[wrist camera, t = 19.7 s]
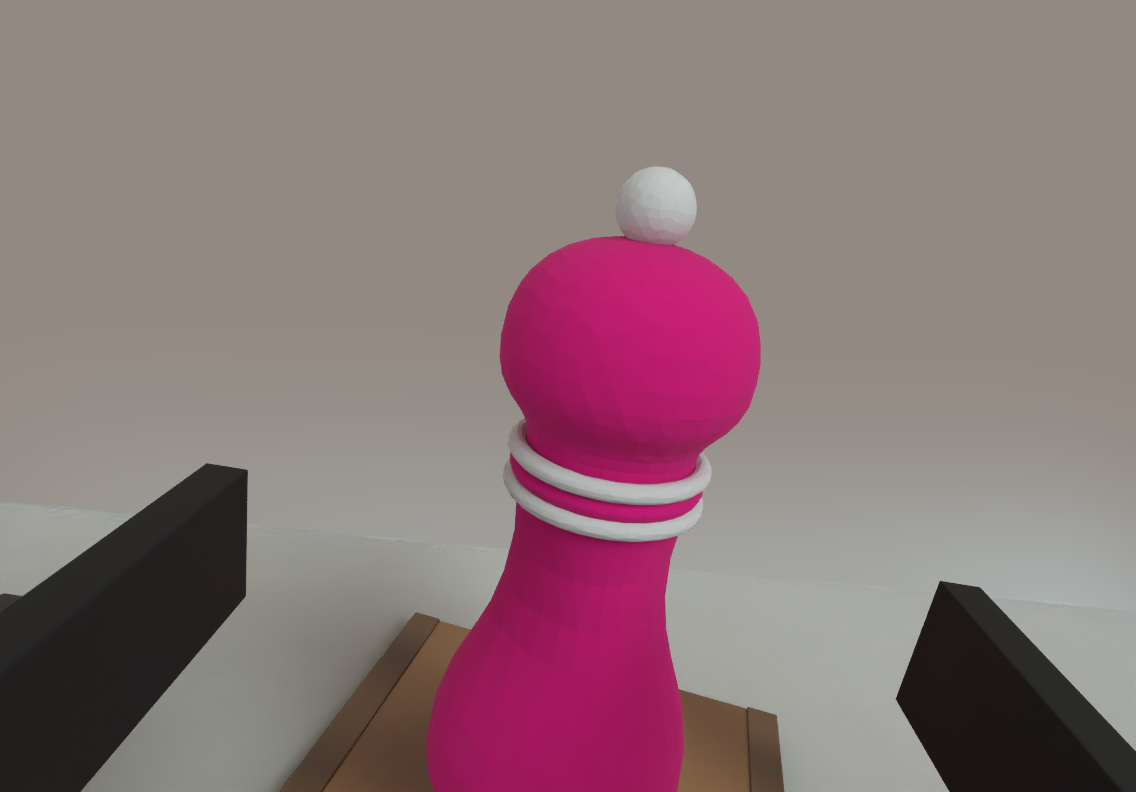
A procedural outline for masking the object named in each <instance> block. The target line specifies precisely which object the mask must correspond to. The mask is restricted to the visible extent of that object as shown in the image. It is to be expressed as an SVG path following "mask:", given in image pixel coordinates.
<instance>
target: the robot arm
mask: <svg viewBox="0 0 1136 792" xmlns="http://www.w3.org/2000/svg"><path fill="white" fill-rule="evenodd" d="M247 478H248V471H247V470H244V469H239V468H232V467H226V466H220V465H213V464H205V465H204V466H203V467H201V468H200V469H198V470H197V471H196V472H194V473H193V474H191V475H190V476H189V477H187V478H186V479H184V480H183V481H182V482H181V483H179V484H178V485H176V486H175V487H173V488H172V489H171V490H169V491H168V492H166V493H165V494H164V495H162V496H161V497H160V498H158V499H157V500H155V501H154V502H153V503H151V504H150V505H148V506H147V507H146V508H144V509H143V510H142V511H140V512H139V513H137V514H136V515H135V516H133V517H132V518H130V519H129V520H128V521H126V522H125V523H124V524H122V525H121V526H119V527H118V528H117V529H115V530H114V531H112V532H111V533H110V534H108V535H107V536H106V537H104V538H103V539H101V540H100V541H99V542H97V543H96V544H94V545H93V546H92V547H90V548H89V549H88V550H86V551H85V552H83V553H82V554H81V555H79V556H78V557H76V558H75V559H74V560H72V561H71V562H70V563H68V564H67V565H65V566H64V567H63V568H61V569H60V570H58V571H57V572H56V573H54V574H53V575H52V576H50V577H49V578H47V579H46V580H45V581H43V582H42V583H40V584H39V585H38V586H36V587H35V588H34V589H32V590H31V591H29V592H28V593H27V594H25V595H24V596H17V595H11V594H1V595H0V792H81V790H82V789H83V788H84V787H85V786H86V784H87V783H88V782H89V781H90V780H91V779H92V777H93V776H94V775H95V774H96V773H97V771H98V770H99V769H100V768H101V767H102V766H103V764H104V763H105V762H106V761H107V760H108V758H109V757H110V756H111V755H112V754H113V753H114V751H115V750H116V749H117V748H118V747H119V745H120V744H121V743H122V742H123V741H124V740H125V738H126V737H127V736H128V735H129V734H130V732H131V731H132V730H133V729H134V728H135V727H136V725H137V724H138V723H139V722H140V721H141V719H142V718H143V717H144V716H145V715H146V713H147V712H148V711H149V710H150V709H151V708H152V706H153V705H154V704H155V703H156V702H157V700H158V699H159V698H160V697H161V696H162V695H163V693H164V692H165V691H166V690H167V689H168V687H169V686H170V685H171V684H172V683H173V682H174V680H175V679H176V678H177V677H178V676H179V674H180V673H181V672H182V671H183V670H184V669H185V667H186V666H187V665H188V664H189V663H190V661H191V660H192V659H193V658H194V657H195V656H196V654H197V653H198V652H199V651H200V650H201V648H202V647H203V646H204V645H205V644H206V643H207V641H208V640H209V639H210V638H211V637H212V635H213V634H214V633H215V632H216V631H217V630H218V628H219V627H220V626H221V625H222V624H223V622H224V621H225V620H226V619H227V618H228V617H229V615H230V614H231V613H232V612H233V611H234V609H235V608H236V607H237V606H238V605H239V604H240V602H241V601H242V600H243V599H244V598H245V596H246V546H247ZM896 700H897V702H898V704H899V706H900V707H901V709H902V711H903V713H904V714H905V716H906V718H907V719H908V721H909V723H910V725H911V726H912V728H913V730H914V731H915V733H916V735H917V737H918V738H919V740H920V742H921V743H922V745H923V747H924V749H925V750H926V752H927V754H928V756H929V757H930V759H931V761H932V762H933V764H934V766H935V768H936V769H937V771H938V773H939V774H940V776H941V778H942V780H943V781H944V783H945V785H946V786H947V788H948V790H949V792H1136V751H1135V750H1134V749H1133V748H1132V747H1131V746H1130V745H1129V744H1128V743H1127V742H1126V741H1125V740H1124V739H1123V738H1122V736H1121V735H1120V734H1119V733H1118V732H1117V731H1116V730H1115V729H1114V728H1113V727H1112V726H1111V725H1110V724H1109V723H1108V722H1107V721H1106V720H1105V719H1104V718H1103V716H1102V715H1101V714H1100V713H1099V712H1098V711H1097V710H1096V709H1095V708H1094V707H1093V706H1092V705H1091V704H1090V703H1089V702H1088V701H1087V700H1086V699H1085V698H1084V696H1083V695H1082V694H1081V693H1080V692H1079V691H1078V690H1077V689H1076V688H1075V687H1074V686H1073V685H1072V684H1071V683H1070V682H1069V681H1068V680H1067V679H1066V678H1065V676H1064V675H1063V674H1062V673H1061V672H1060V671H1059V670H1058V669H1057V668H1056V667H1055V666H1054V665H1053V664H1052V663H1051V662H1050V661H1049V660H1048V659H1047V658H1046V656H1045V655H1044V654H1043V653H1042V652H1041V651H1040V650H1039V649H1038V648H1037V647H1036V646H1035V645H1034V644H1033V643H1032V642H1031V641H1030V640H1029V639H1028V638H1027V636H1026V635H1025V634H1024V633H1023V632H1022V631H1021V630H1020V629H1019V628H1018V627H1017V626H1016V625H1015V624H1014V623H1013V622H1012V621H1011V620H1010V619H1009V618H1008V616H1007V615H1006V614H1005V613H1004V612H1003V611H1002V610H1001V609H1000V608H999V607H998V606H997V605H996V604H995V603H994V602H993V601H992V600H991V599H990V598H989V596H988V595H987V594H986V593H985V592H984V591H983V590H982V589H981V588H980V587H974V586H968V585H962V584H956V583H949V582H943V581H940V582H939V585H938V588H937V590H936V593H935V596H934V598H933V601H932V604H931V606H930V609H929V612H928V614H927V617H926V620H925V622H924V625H923V628H922V630H921V633H920V636H919V638H918V641H917V644H916V646H915V649H914V652H913V654H912V657H911V660H910V662H909V665H908V668H907V670H906V673H905V676H904V678H903V681H902V684H901V686H900V689H899V692H898V694H897V697H896Z"/></svg>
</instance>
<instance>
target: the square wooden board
mask: <svg viewBox="0 0 1136 792" xmlns="http://www.w3.org/2000/svg"><path fill="white" fill-rule="evenodd" d="M470 631H471V630H469V629H466V628H462V627H459V626H455V625H452V624H448V623H445V622H441V621H440V620H439V619H437V618H434V617H430V616H427V615H423V614H420V613H415V614H414V615H413V617H412V618H411V619H410V621H409V622H408V623H407V624H406V626H405V627H404V628H403V630H402V631H401V632H400V634H399V635H398V636H397V638H396V639H395V640H394V642H393V643H392V644H391V646H390V647H389V648H388V649H387V651H386V652H385V653H384V655H383V656H382V657H381V659H380V660H379V661H378V663H377V664H376V665H375V667H374V668H373V669H372V670H371V672H370V673H369V674H368V676H367V677H366V678H365V680H364V681H363V682H362V684H361V685H360V686H359V688H358V689H357V690H356V692H355V693H354V694H353V695H352V697H351V698H350V699H349V701H348V702H347V703H346V705H345V706H344V707H343V709H342V710H341V711H340V713H339V714H338V715H337V717H336V718H335V719H334V720H333V722H332V723H331V724H330V726H329V727H328V728H327V730H326V731H325V732H324V734H323V735H322V736H321V738H320V739H319V740H318V741H317V743H316V744H315V745H314V747H313V748H312V749H311V751H310V752H309V753H308V755H307V756H306V757H305V759H304V760H303V761H302V763H301V764H300V765H299V766H298V768H297V769H296V770H295V772H294V773H293V774H292V776H291V777H290V778H289V780H288V781H287V782H286V784H285V785H284V786H283V788H282V789H281V790H280V791H279V792H434V790H433V787H432V785H431V782H430V779H429V775H428V768H427V761H426V740H427V731H428V727H429V722H430V718H431V713H432V708H433V704H434V700H435V696H436V692H437V689H438V686H439V684H440V682H441V680H442V678H443V676H444V673H445V671H446V669H447V667H448V665H449V663H450V661H451V659H452V657H453V655H454V653H455V651H456V650H457V648H458V647H459V646H460V644H461V643H462V641H463V640H464V639H465V637H466V636H467V635H468V633H469V632H470ZM679 693H680V698H681V703H682V714H683V732H684V754H683V760H682V766H681V773H680V779H679V785H678V790H677V792H784V785H783V774H782V764H781V754H780V744H779V734H778V724H777V716H776V715H774V714H771V713H767V712H764V711H760V710H757V709H753V708H750V707H748V708H747V709H745V708H742V707H738V706H735V705H731V704H728V703H724V702H721V701H717V700H714V699H710V698H707V697H703V696H700V695H696V694H693V693H689V692H686V691H682V690H679Z"/></svg>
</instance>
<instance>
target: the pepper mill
mask: <svg viewBox="0 0 1136 792" xmlns="http://www.w3.org/2000/svg"><path fill="white" fill-rule="evenodd" d="M696 202H697V201H696V198H695V194H694V190H693V188H692V187H691V185H690V183H689V182H688V181H687V180H686V179H685V178H684V177H683V176H681V175H680V174H679V173H677V172H676V171H674V170H673V169H670V168H666V167H649V168H645V169H642V170H640V171H639V172H636V173H635V174H633V175H632V176H631V177H630V178H629V179H628V180H627V181H626V182H625V183H624V185H623V186H622V187H621V189H620V192H619V194H618V196H617V202H616V219H617V222H618V225H619V227H620V229H621V231H622V232H623V234H624V235H625V236H624V237H623V236H619V237H618V236H616V237H601V238H592V239H588V240H584V241H580V242H576V243H573V244H569V245H567V246H565V247H563V248H561V249H559V250H557V251H555V252H553V253H551V254H549V255H548V256H547V257H545V258H544V259H543V260H542V261H540V262H539V263H538V264H537V265H536V266H534V267H533V268H532V269H531V270H530V271H529V272H528V274H527V275H526V276H525V277H524V279H523V280H522V281H521V283H520V285H519V286H518V288H517V290H516V292H515V294H514V296H513V298H512V300H511V302H510V304H509V306H508V310H507V313H506V317H505V321H504V325H503V329H502V333H501V345H500V362H501V370H502V375H503V377H504V380H505V382H506V384H507V387H508V389H509V391H510V393H511V395H512V396H513V398H514V400H515V401H516V403H517V404H518V405H519V407H520V409H521V410H522V412H523V414H524V416H525V419H522V420H520V421H519V422H518V423H517V424H516V425H515V426H513V428H512V430H511V431H510V433H509V438H508V443H509V444H508V446H509V448H510V451H511V453H510V459H509V460H508V462H507V463H506V465H505V468H504V473H503V478H504V483H505V485H506V487H507V489H508V491H509V493H510V495H511V496H512V498H513V499H514V500H515V501H516V517H515V531H514V534H513V538H512V542H511V546H510V550H509V553H508V557H507V561H506V565H505V569H504V572H503V574H502V576H501V578H500V581H499V583H498V585H497V587H496V590H495V592H494V594H493V597H492V599H491V601H490V602H489V604H488V605H487V607H486V609H485V610H484V612H483V613H482V615H481V617H480V618H479V620H478V621H477V622H476V624H475V625H474V627H473V628H472V629H471V631H470V632H469V633H468V635H467V636H466V637H465V639H464V640H463V641H462V643H461V644H460V646H459V647H458V648H457V650H456V651H455V653H454V655H453V657H452V659H451V661H450V663H449V665H448V667H447V669H446V671H445V673H444V676H443V678H442V680H441V682H440V684H439V686H438V689H437V692H436V696H435V700H434V704H433V708H432V713H431V718H430V722H429V727H428V731H427V740H426V761H427V768H428V775H429V779H430V782H431V785H432V787H433V790H434V792H677V790H678V785H679V779H680V773H681V766H682V760H683V754H684V732H683V714H682V703H681V698H680V693H679V689H678V685H677V680H676V676H675V672H674V667H673V663H672V659H671V654H670V649H669V643H668V637H667V631H666V613H665V592H666V585H667V578H668V571H669V565H670V558H671V555H672V551H673V549H674V546H675V543H676V540H677V536H678V535H680V534H682V533H684V532H686V531H688V530H690V529H691V528H692V527H693V526H694V525H695V524H696V523H697V522H698V521H699V519H700V517H701V515H702V512H703V500H702V492H703V490H704V489H705V488H706V486H707V485H708V484H709V482H710V479H711V466H710V463H709V462H708V460H707V458H706V457H705V455H704V454H703V453H702V451H703V450H704V449H705V448H706V447H708V446H709V445H711V444H712V443H714V442H715V441H717V440H718V439H719V438H721V437H723V436H724V435H726V434H727V433H728V432H729V431H730V430H731V429H732V428H733V427H734V426H736V425H737V424H738V422H739V421H740V420H741V418H742V417H743V415H744V414H745V413H746V411H747V410H748V408H749V406H750V403H751V400H752V397H753V394H754V391H755V388H756V385H757V379H758V375H759V369H760V336H759V327H758V321H757V319H756V316H755V314H754V311H753V309H752V307H751V304H750V302H749V300H748V297H747V296H746V294H745V293H744V292H743V291H742V289H741V288H740V287H739V286H738V284H737V283H736V282H735V281H734V279H733V278H732V277H730V276H729V275H728V274H727V273H725V272H724V271H723V270H722V269H720V268H719V267H718V266H717V265H715V264H714V263H712V262H711V261H709V260H708V259H706V258H704V257H702V256H700V255H698V254H696V253H694V252H692V251H690V250H688V249H684V248H682V247H678V246H675V245H674V244H676V243H677V242H679V241H681V240H682V239H683V238H684V237H685V236H686V235H687V233H688V232H689V231H690V229H691V227H692V225H693V222H694V220H695V217H696V212H697V203H696Z"/></svg>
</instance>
